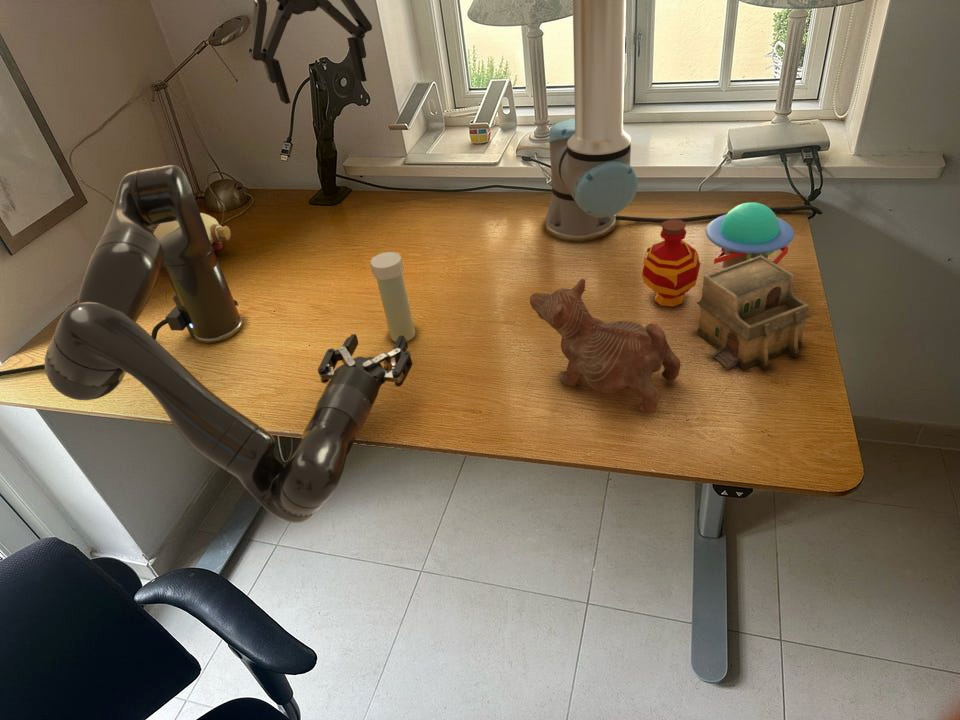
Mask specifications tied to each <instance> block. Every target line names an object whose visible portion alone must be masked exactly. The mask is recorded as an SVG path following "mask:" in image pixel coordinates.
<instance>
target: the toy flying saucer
mask: <svg viewBox="0 0 960 720" xmlns="http://www.w3.org/2000/svg"><path fill="white" fill-rule="evenodd" d="M770 208H771V207H769V206H767V205H765V204H762V203H760V202H754V201H753V202H750V201H749V202H743V203H741V204H738V205H736V206H734V207H733V208H731V210H729V211H727V212H728V213H727V212H726V213H727V214H726V215H723V216H720V217H718V218H716V219H712V220H711V221H710V222H709V223H708V224H707V226H706V228H705V235H706V237H707V239H708V240H709V241H710V242H711V243H712V244H714V245H715V246H717V247H718V248H720V249H721V250H720V251H721V252H720V253H719V254H718V255H717V256H716V257H715V258H714V259H713V265H716V264H719V263H722V269H724V268H727V267H730V266H732V265H735V264H738V263H741V262H744V261H746V260H749V259H752V258H755V257H758V256H760V255H762V256H763V257H765V258H767V259H768V260H769V256H771V255H772V254H773V253H774V252H776V251H778V250H780V251H781V253H779V254H778V256H777V257H775V259H774V260H771V261H772V262H773V263H775V264H777V265H778V264H779V263H780V262H781V260H782V259H783V258H784V257H786V255H788V251H789V247H788V245H789V244H790V243H791V242H793V240H794V238H795V231H794V229H793V228H792V226H791V225H790V223H788V222H786V220H784V219H782V218H780V217H778V216H777V214H776V213H775V212H773V211H772V210H771V209H770Z"/></svg>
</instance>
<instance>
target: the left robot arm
mask: <svg viewBox="0 0 960 720" xmlns="http://www.w3.org/2000/svg"><path fill="white" fill-rule="evenodd" d="M200 213H201V211H200V209H199V206H198V204H197V201H196V197H195V195H194V191H193V188H192V186H191V183H190V180H189V178H188V176H187V175H186V173H185V171H184V170H183V169H182V168H181V167H180V166H179V165H177V164H169V165H163V166H155V167H150V168H145V169H139V170H133V171H131V172H129V173H127V174H125V175H124V176H123V177H122V179H121V181H120V182H119V185H118V188H117V192H116V196H115V199H114V204H113V208H112V212H111V214H110V217H109V219H108V222H107V224H106V226H105V228H104V231H103V233H102V234H101V237H100V238H99V240H98V242H97V243H96V246H95V248H94V250H93V251H92V254H91V256H90V259H89V261H88V264H87V267H86V270H85V273H84V277H83V280H82V283H81V287H80V290H79V294H78V298H77V303H75V304H73V305H71V306H70V307H68V308H67V309H66V310H65V311H64V312H63V314H62V315H61V317H60V319H59V320H58V323H57V325H56V327H55V330H54V332H53V336H52V338H51V340H50V342H49V345H48V347H47V350H46V352H45V356H44V364H38V365H32V366H31V365H30V366H25V367H20V368H11V369H7V370H1V371H0V377H4V376H12V375H18V374H24V373H30V372H35V371H41V370H42V371H43V370H44V371H45V376H47V380H48V382H49V383H50V384H51V386H52V387H53V388H54V389H55V390H56V391H57V392H58V393H60V394H61V395H63V396H64V397H66V398H69V399H72V400H76V401H92V400H97V399H100V398H102V397H105V396H107V395H108V394H110V393H112V392H113V391H114V390H115V389H117V387H118V386H119V385H120V384H121V383H122V382H123V380H124V378H125V376H126V374H128V375H130V376H131V377H133V378H134V379H135V380H137V381H138V382H139V383H140V384H141V385H143V386H144V387H145V388H146V390H148V391H149V392H150V394H151V395H152V396H153V397H154V398H155V399H156V401H158V403H159V404H160V406H161V407H162V409H163V410H164V412H165V413H166V415H167V416H168V418H169V419H170V421H171V423H172V424H173V426H174V427H175V428H176V430H177V431H178V433H179V434H180V435H181V437H182V438H183V439H184V440H185V442H186V443H188V445H189V446H190V447H192V449H194V450H195V452H197V453H198V454H200V455H201V456H203V457H204V458H205V459H207V460H209V461H210V462H212V463H214V464H215V465H216V466H218V467H219V468H220V469H222V470H224V471H225V472H227V473H228V474H230V475H232V476H233V477H235V478H236V479H237V480H238V481H239V482H240V483H241V485H242V486H243V487H244V489H245V490H247V492H248V493H250V495H251V496H252V497H253V498H254V499H255V500H256V501H257V502H258V503H259V504H260V505H261V506H262V507H263V508H264V509H265V510H266V511H267V512H269V514H271V515H273V517H275V518H277V519H279V520H282V521H284V522H287V523H292V524H299V523H300V524H301V523H304V522H307V521H308V520H311V519H312V518H314V516H315V515H316V514H317V513H318V511H319V510H320V509H321V508H322V507H323V506H324V504H325V503H326V502H327V501H328V500H329V499H330V497H332V495H333V493H335V490H336V488H337V486H338V484H339V482H340V480H341V477H342V474H343V472H344V469H345V465H346V460H347V456H348V455H349V453H350V450H351V449H352V447H353V445H354V443H355V440H356V438H357V436H358V434H359V432H360V431H361V430H362V428H363V427H364V425H365V423H366V421H367V419H368V417H369V415H370V412H371V411H372V408H373V406H374V404H375V402H376V399H377V397H378V395H379V392H380V389H381V386H382V385H384V384H386V382H387V383H389V382H390V383H394V386H395V387H401V386H403V384H404V382H405V380H406V378H407V377H408V375H409V373H410V371H411V369H412V367H413V364H414V363H413V361H412V356H411V351H409V350H408V348H409V345H408V341H407V340H406V339H405V337H404V336H402V335H400V336H399V337H398V339H397V341H396V342H394V343H395V344H394V346H393V349H391V350H390V351H389V352H382V353H380V354H378V355H377V356H369V357H368V356H367V357H364V356H356V357H354V358H353V354H354V353H355V351H356V349H357V348H358V345H359V340H358V336H357V334H355V333H351V334H350V336H348V337H347V338H345V340H344V342H343V344H342V345H341V346H340V347H338V349H334V348H331V347H330V348H328V349H327V350H326V352H325V354H324V355H323V357H322V360H321V362H320V364H319V365H318V368H317V373H318V375H319V378H320V381H321V384H326V383H327V384H326V386H325V388H324V390H323V392H322V394H321V395H320V397H319V398H318V401H317V403H316V405H315V408H314V411H313V413H312V415H311V416H310V419H309V420H308V422H307V423H306V426H305V428H304V430H303V432H302V434H301V437H300V441H299V445H298V446H297V448H296V450H295V451H294V453H293V454H292V456H291V458H290V459H289V460H288V462H287V463H286V464H285V463H284V462H282V461H281V459H279V458H278V457H277V455H276V454H275V446H276V439H275V437H274V436H273V435H272V434H271V433H270V432H269V431H268V430H266V429H265V428H263V427H262V426H260V425H259V424H258V423H257V422H255V421H253V420H252V419H250V418H249V417H248V416H246V415H245V414H243V413H241V412H240V411H238V410H237V409H236V408H234V407H233V406H231V405H230V404H228V403H227V402H226V401H224V400H222V399H221V398H220V397H219V396H218V395H217V394H215V393H214V392H212V391H211V390H210V389H209V388H208V387H207V386H205V385H204V384H203V383H202V382H201V381H200V380H199V379H197V377H195V375H193V374H192V373H191V372H190V371H189V370H188V369H187V368H186V367H185V366H184V365H183V364H182V363H181V362H180V361H179V360H178V359H176V358H175V357H174V355H172V354H171V353H170V352H169V351H168V350H167V349H166V348H165V347H164V346H163V345H162V344H160V343H159V342H158V341H157V337H158V332H159V330H160V329H161V328H162V327H164V326H166V325H167V324H168V326H169V328H170V330H171V331H177V332H178V331H181V332H183V331H184V330H185V329H186V330H187V332H188V334H189V336H190V338H191V339H195V340H196V341H198V342H199V343H204V344H214V343H215V344H216V343H219V342H222V341H226V340H229V339H230V338H232V337H233V336H235V335H236V334H238V332H240V331H241V329H242V327H243V325H244V321H243V318H242V316H241V314H240V312H239V310H238V307H239V303H238V300H236V299H234V297H233V295H232V292H231V290H230V287H229V285H228V283H227V280H226V278H225V274H224V272H223V270H222V268H221V265H220V263H219V260H218V258H217V256H216V253H215V251H214V250H213V248H212V247H213V244H212V245H211V243H210V240H209V238H208V234H207V231H206V228H205V225H204V222H203V220H202V217H201V215H200ZM172 221H177V222H178V223H179V227H178V228H177V229H176V230H174V231H173V232H171V233H169V234H167V235H166V236H164V237H163V238H162V239H161V240H160V241H159V240H158V239H157V237H156V236H155V235H154V234H153V233H154V232H152V230H151V229H149V228H150V227H151V226H154V225H159V224H161V223H166V222H172ZM162 269H163V270H164V272H165V274H166V277H167V278H168V280H169V282H170V285H171V287H172V289H173V291H174V293H175V294H174V295H173V296H172V300H173V301H174V304H175V306H174V307H173V308H172V309H171V310H170V311H169V313H168V314H167V315H165V316H164V318H165V319H162V320H161V321H159V322H158V323H157V324H156V325H155V326H154V327H153V328H152V331H151V334H150V333H149V332H148V331H146V330H145V329H144V328H143V327H142V326H141V325H140V324H138V323H137V321H138V320H139V318H140V316H141V314H142V313H143V312H144V310H145V307H146V306H147V305H148V303H149V300H150V298H151V297H152V295H153V292H154V290H155V288H156V286H157V284H158V281H159V278H160V275H161V272H162ZM392 359H393V360H392ZM338 362H342V364H341V365H339V367H336V366H337V364H338ZM381 363H383V365H382V364H381Z"/></svg>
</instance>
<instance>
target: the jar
mask: <svg viewBox="0 0 960 720" xmlns="http://www.w3.org/2000/svg"><path fill="white" fill-rule="evenodd" d="M375 279H376V283H377V286H378V291H379V295H380V299H381V302H382V308H383V311H384V316H385V320H386V324H387V328H388V331H389V335H390V339H391V340H392V341H393V342H394V343H396V341H397V339H398V337H399V336H400V335H402V336H404V337H405V339H406V340H407V342H409V341H411V340H413V338H415V336H416V330H415V325H414V324H415V323H414V320H413V315H412V311H411V306H410V302H409V297H408V292H407V288H406V283H405V279H404V274H403V272H402V273H401V274H400V275H399V276H397V277H395V278H392V279H388V280H381V279H377V278H375Z"/></svg>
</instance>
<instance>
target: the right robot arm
mask: <svg viewBox="0 0 960 720" xmlns="http://www.w3.org/2000/svg"><path fill="white" fill-rule="evenodd" d="M276 1H277V2H278V5H277V7H276V10H275V16H274V18H273V20H272V23H271V26H270V29H269V31H268V33H267V36H266V38H265V41H264V35H265V28H266V21H267V14H268V5H269V4H270V2H271V0H253V11H252V12H253V13H252V20H251V27H250V35H249V42H248V50H247V55H248V57H249V58H250V59H252V60H254V61H257V62H258V61H259V62H262V64H263V67H264V70H265V73H266V76H267V80H268V81H269V82H270V83H272V84H275V85H276V89H277V92H278V97H279V99H280V102H282V103H283V104H285V105H288V104H291V98H290V95H289V93H288V88H287V85H286V82H285V78H284V75H283V71H282V67H281V64H280V60H279V59H277V58H275V55H276V52H277V50H278V47H279V45H280V42H281V40H282V37H283V35H284V32H285V29H286V27H287V24H288V22H289V21H290V19H291V18H292V15H295V16H299V15H303V14H304V13H306V12H316V11H317V9H318V8H319V9H321V10H322V11H323V12H325V13H326V15H328V16H329V17H330V18H331V19H333V20H334V21H335V22H336V23H337V24H339V26H341V27H342V28H343V29H344V30H345V31H347V32H348V33H349V34H350V35H351V36H350V37H346V38H347V43H348V48H349V53H350V58H351V61H352V67H353V70H354V75H355V79H356V80H358V81H359V82H362V83H364V82H367V81H368V80H367V75H366V71H365V66H364V61H363V59H366V58H367V50H366V46H365V41H364V39H365V37H366V33H368V32H370V31H372V30H373V25H372V23H371V21H370V20H369V19H368V17H367V16H366V15H365V13H364V11H363V10H362V9H361V7H360V6H359V4H358V3H357V2H356V0H340V2H341V3H342V4H343V6H344V7H345V9H346V10H347V11H348V13H349V14H350V15H351V17H352V19H353V20H354V21H355V23H356V24H357V25H356V24H355V23H353V21H352V20H350V19H349V17H347V16H346V15H345V14H344V13H343V12H341V11H340V10H339V9H338V8H337V7H336V6H334V4H332V2H331V1H330V0H276ZM626 11H627V0H572V32H573V33H572V37H573V40H572V41H573V83H574V84H573V85H574V87H573V89H574V91H573V92H574V93H573V94H574V95H573V96H574V118H570V119H569V118H568V119H565V120H562V121H559V122H557V123H555V124H553V125H552V126H551V127H550V129H549V135H548V136H549V138H548V139H549V140H548V144H549V156H550V174H551V175H550V176H551V188H552V189H551V190H552V191H551V193H552V194H551V198H550V202H549V206H548V209H547V213H546V216H545V229H546V232H547V233H548V234H549V236H550V235H551V236H552V237H553V238H556V239H558V240H561V241H567V242H586V241H587V242H588V241H594V240H597V239H600V238H604V237H605V236H607V235H608V234H610V233H611V232H613V230H614V229H615V227H616V223H617V221H625V222H639V223H655V224H656V223H657V224H663V222H664V221H667V220H670V219H676V220H682V221H683V222H685V223H691V222H692V223H693V222H700V221H707V220H714V219H716V218H718V217H720V216H723V215H726V214H727V213H728V212H729V211H727V212H722V213H715V214H713V213H712V214H705V215H699V216H690V217H669V218H667V217H666V218H665V217H660V218H659V217H642V216H641V217H639V216H628V215H617V214H619V213H620V212H622V211H624V209H625V208H627V206H628V205H630V204H631V202H632V201H633V200H634V198H635V197H636V194H637V191H638V186H639V182H638V181H639V180H638V176H637V173H636V170H635V169H634V168H633V167H632V165H631V150H632V148H631V147H632V144H631V143H632V138H631V136H630V135H629V134H628V133H627V132H626V131H625V130H624V129H623V128H624V97H625V96H624V95H625V92H624V91H625V90H624V89H625V50H626V48H625V47H626V13H627V12H626ZM263 42H264V43H263ZM769 208H770V209H771V210H772V211H773V212H774V213H779V212H797V211H804V210H805V211H807V210H808V211H812V212H814V213H815V214H817V215H823V213H824V212H823V211H822V210H821V209H819V207H817V206H815V205H811V204H804V205H802V204H801V205H795V206H774V207H773V206H772V207H769Z"/></svg>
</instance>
